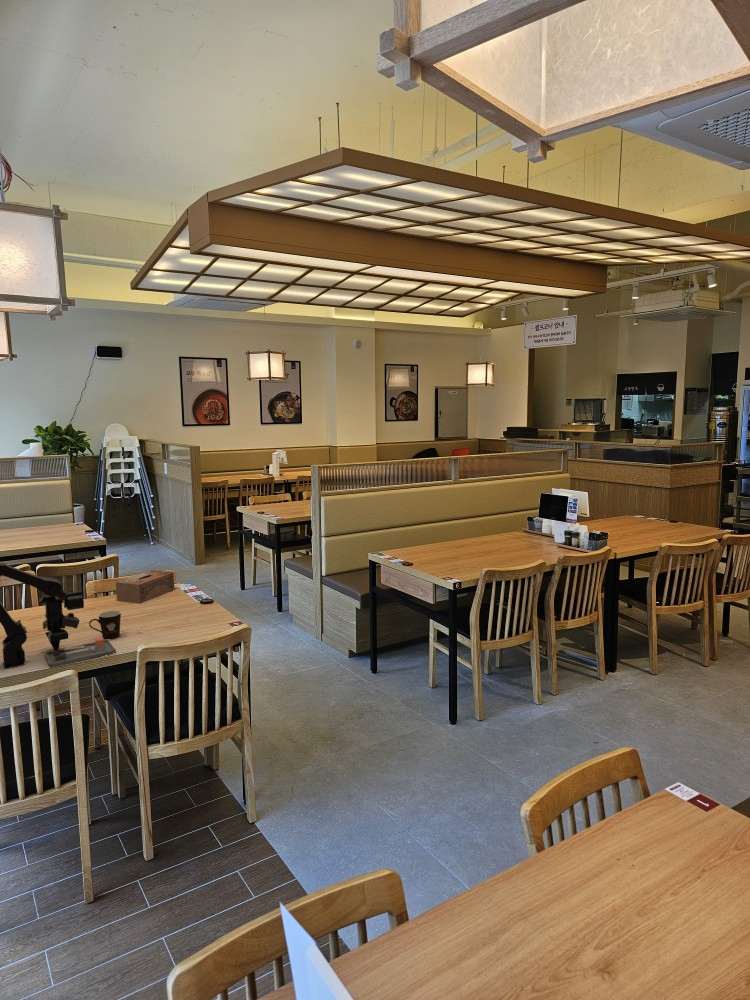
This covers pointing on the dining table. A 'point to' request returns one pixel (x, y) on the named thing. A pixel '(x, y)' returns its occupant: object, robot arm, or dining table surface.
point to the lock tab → (99, 641)
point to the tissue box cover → (144, 586)
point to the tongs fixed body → (79, 652)
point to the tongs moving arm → (67, 649)
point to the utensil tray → (52, 663)
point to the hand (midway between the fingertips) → (56, 651)
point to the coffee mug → (109, 624)
